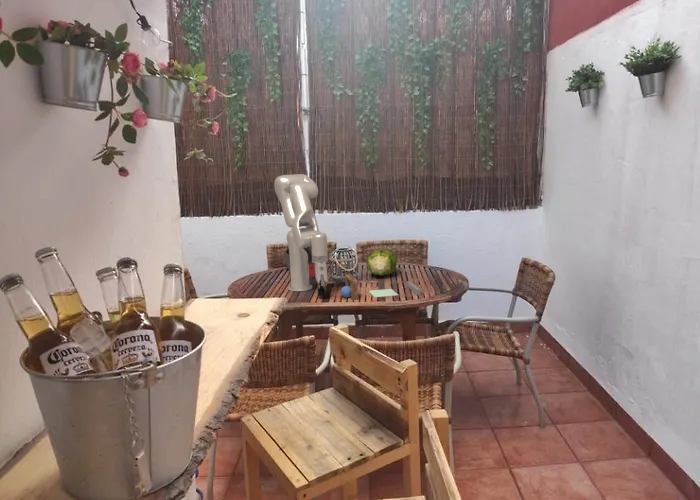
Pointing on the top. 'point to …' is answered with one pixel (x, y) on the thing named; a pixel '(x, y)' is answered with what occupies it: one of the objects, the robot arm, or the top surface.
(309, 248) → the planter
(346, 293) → the ball
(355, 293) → the bridge
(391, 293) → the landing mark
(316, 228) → the robot arm
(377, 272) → the lettuce
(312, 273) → the tape dispenser
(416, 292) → the wall
